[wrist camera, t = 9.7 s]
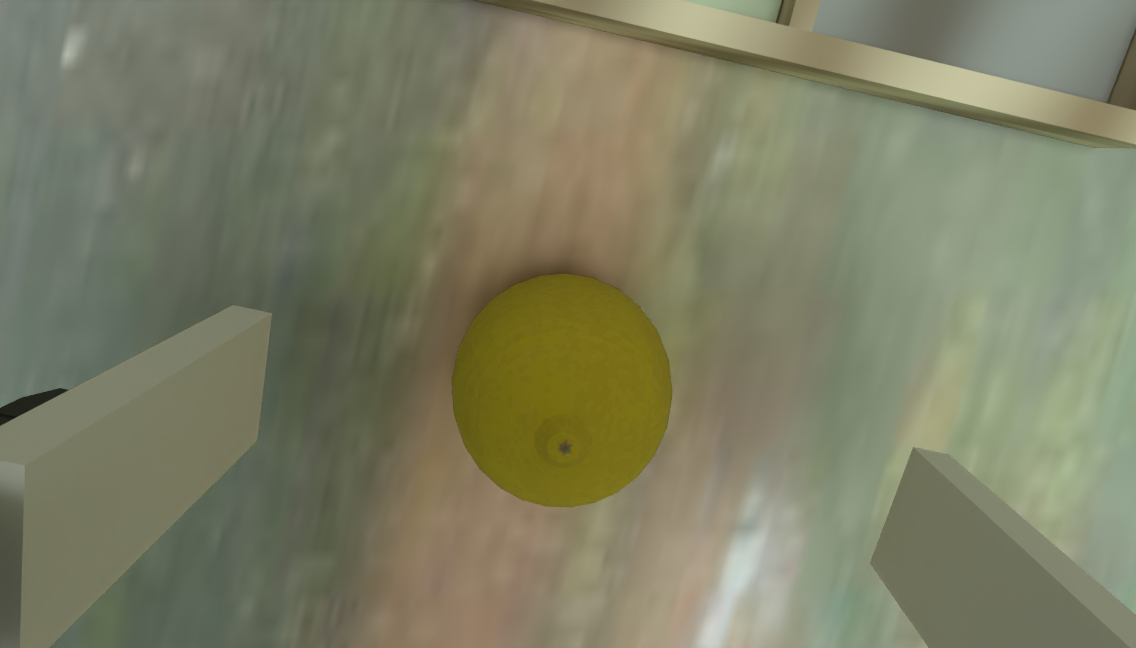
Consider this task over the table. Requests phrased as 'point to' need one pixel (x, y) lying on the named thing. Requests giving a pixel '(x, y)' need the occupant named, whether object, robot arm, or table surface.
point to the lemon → (561, 390)
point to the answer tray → (914, 52)
